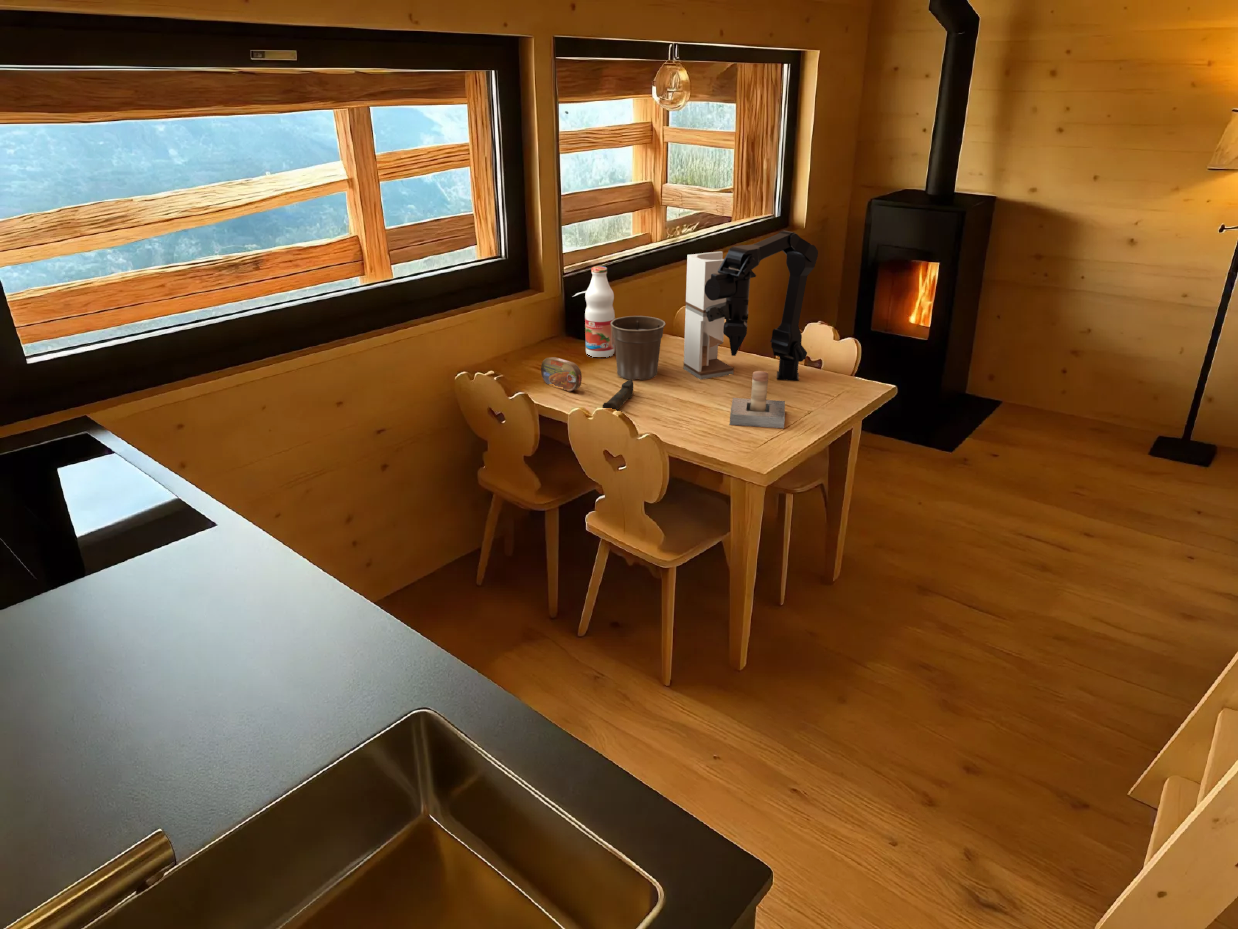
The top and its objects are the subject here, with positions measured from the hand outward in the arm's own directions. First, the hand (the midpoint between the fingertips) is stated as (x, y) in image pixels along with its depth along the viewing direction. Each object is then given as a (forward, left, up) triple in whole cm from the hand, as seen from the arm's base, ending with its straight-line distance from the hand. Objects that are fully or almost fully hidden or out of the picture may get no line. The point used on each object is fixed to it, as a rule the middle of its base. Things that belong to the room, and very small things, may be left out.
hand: (734, 350), depth 235 cm
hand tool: (+12, -30, -14) cm, 35 cm away
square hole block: (+16, +8, -13) cm, 22 cm away
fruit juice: (-30, -44, -13) cm, 55 cm away
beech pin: (+16, +8, -13) cm, 22 cm away
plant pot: (-13, -29, -14) cm, 35 cm away
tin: (+2, -49, -14) cm, 51 cm away
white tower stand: (-19, -8, -13) cm, 25 cm away
